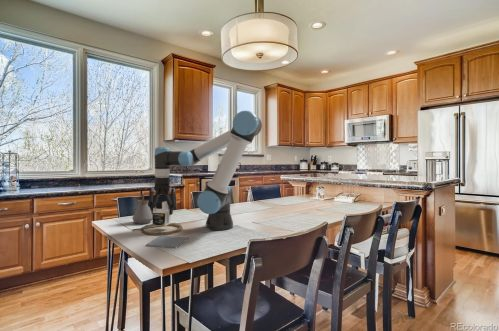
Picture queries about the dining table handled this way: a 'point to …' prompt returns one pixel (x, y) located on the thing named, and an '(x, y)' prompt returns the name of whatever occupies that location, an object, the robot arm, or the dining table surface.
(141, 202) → the coffee pot
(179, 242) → the slate mat
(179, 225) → the woven rattan coaster
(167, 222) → the medicine bottle
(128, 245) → the dining table surface
